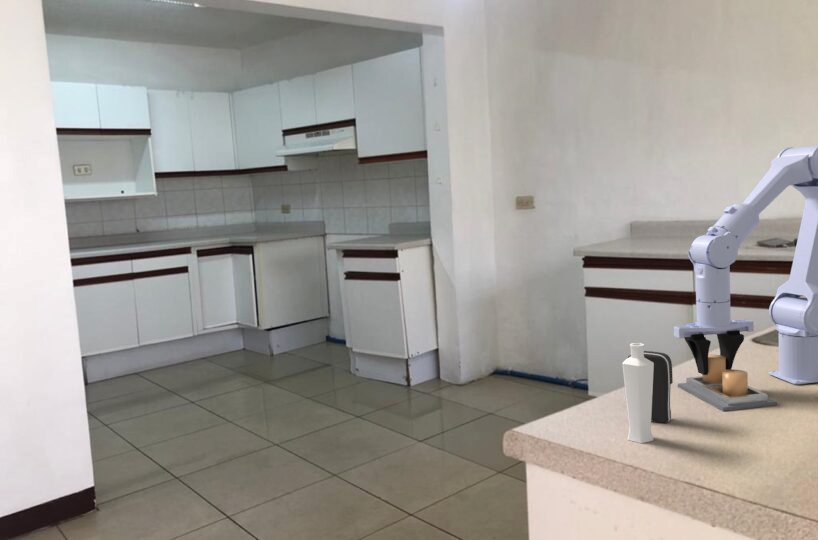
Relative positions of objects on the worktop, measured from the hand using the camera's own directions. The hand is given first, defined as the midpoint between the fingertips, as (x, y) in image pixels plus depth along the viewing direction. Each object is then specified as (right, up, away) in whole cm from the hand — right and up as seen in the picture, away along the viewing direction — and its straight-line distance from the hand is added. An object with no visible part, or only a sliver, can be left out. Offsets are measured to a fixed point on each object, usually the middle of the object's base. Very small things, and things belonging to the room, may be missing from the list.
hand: (714, 372), depth 124 cm
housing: (+1, -4, -3) cm, 5 cm away
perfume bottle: (-21, -7, -20) cm, 30 cm away
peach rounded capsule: (0, -2, 0) cm, 2 cm away
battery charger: (-16, -6, -11) cm, 21 cm away
